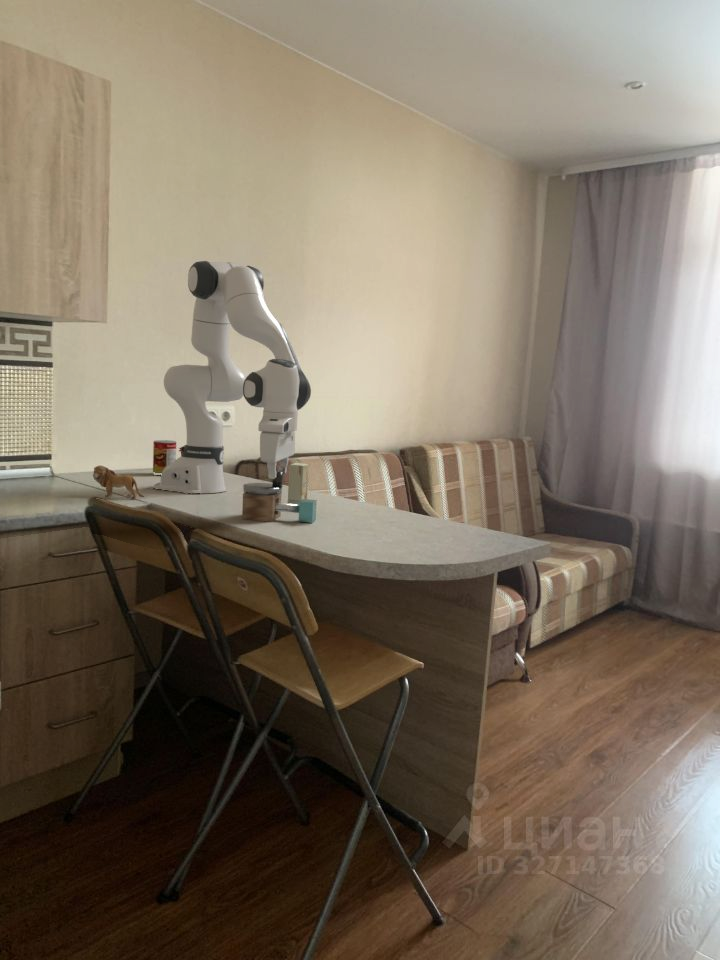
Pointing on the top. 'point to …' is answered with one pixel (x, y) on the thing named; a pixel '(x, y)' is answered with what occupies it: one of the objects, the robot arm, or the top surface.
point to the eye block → (260, 507)
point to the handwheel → (265, 486)
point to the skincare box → (297, 482)
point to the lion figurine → (114, 481)
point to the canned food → (163, 454)
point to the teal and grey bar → (300, 509)
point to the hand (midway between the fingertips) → (277, 476)
